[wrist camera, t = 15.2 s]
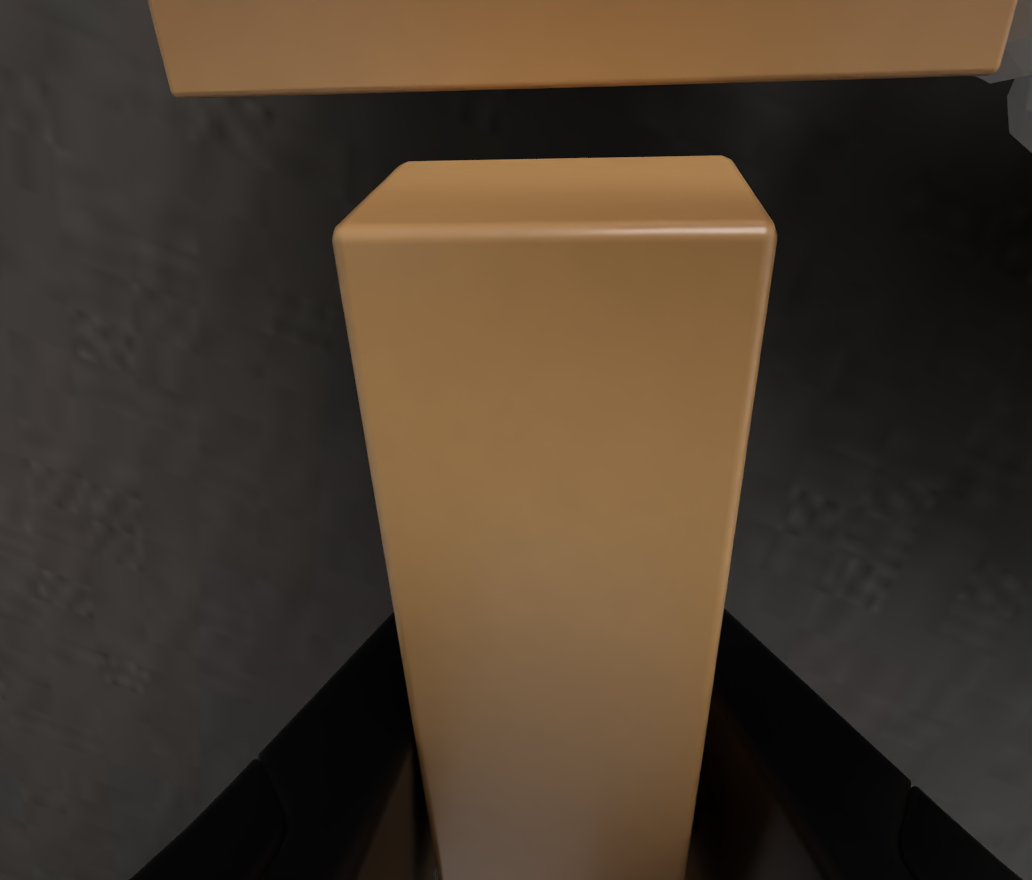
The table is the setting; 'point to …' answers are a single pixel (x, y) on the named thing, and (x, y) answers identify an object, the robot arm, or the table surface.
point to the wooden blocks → (559, 387)
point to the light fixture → (1018, 73)
